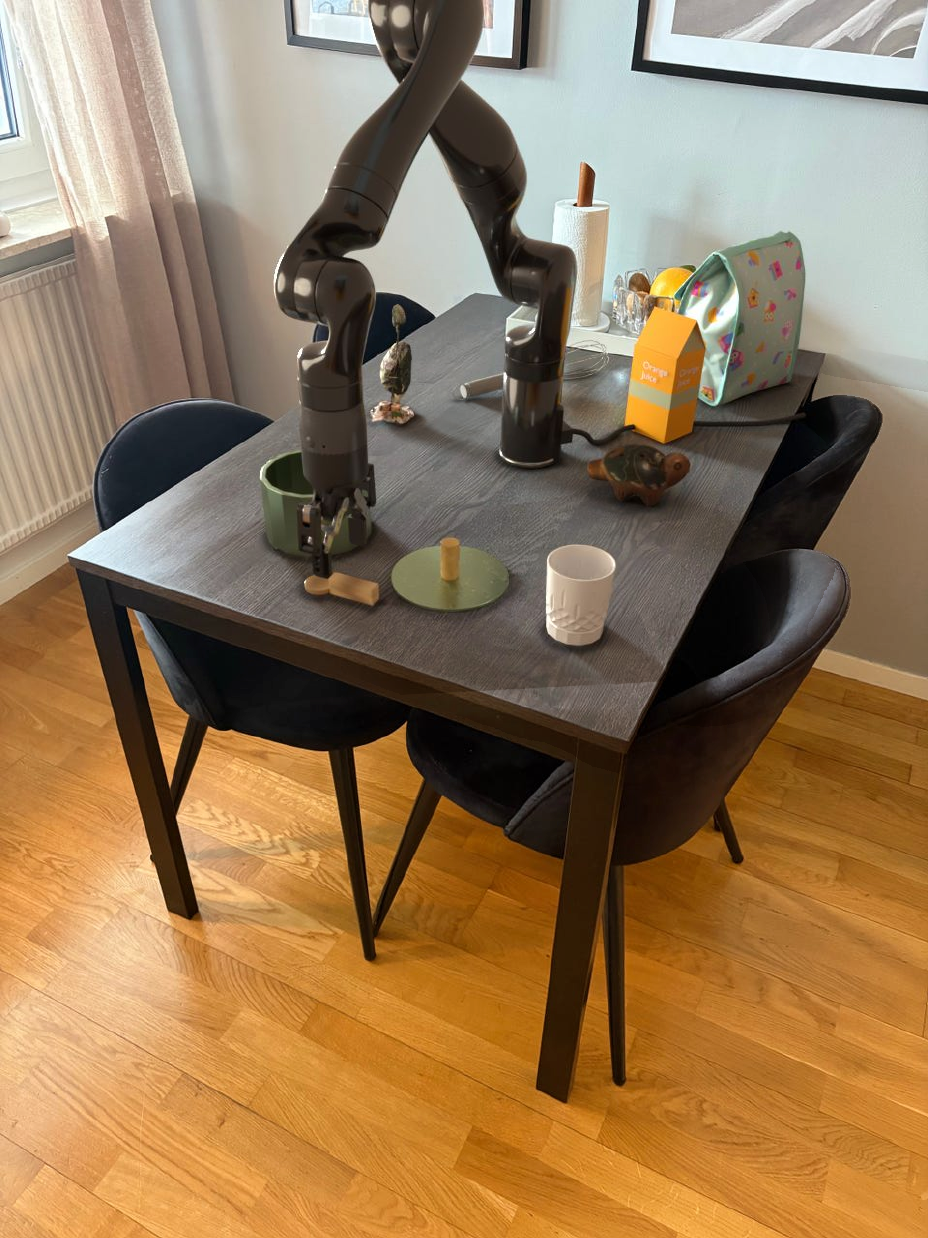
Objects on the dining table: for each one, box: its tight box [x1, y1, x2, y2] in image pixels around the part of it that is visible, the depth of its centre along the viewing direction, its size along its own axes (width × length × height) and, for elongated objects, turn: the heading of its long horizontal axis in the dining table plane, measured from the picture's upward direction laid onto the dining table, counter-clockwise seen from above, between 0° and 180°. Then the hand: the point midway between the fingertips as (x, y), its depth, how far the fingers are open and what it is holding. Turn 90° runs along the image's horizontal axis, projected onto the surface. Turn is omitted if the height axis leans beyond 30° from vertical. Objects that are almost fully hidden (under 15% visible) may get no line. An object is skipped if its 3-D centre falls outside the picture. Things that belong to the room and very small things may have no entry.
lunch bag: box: [673, 230, 806, 407], centre depth 173 cm, size 23×16×27 cm
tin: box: [259, 449, 372, 558], centre depth 131 cm, size 14×14×10 cm
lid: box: [390, 537, 510, 613], centre depth 122 cm, size 15×15×6 cm
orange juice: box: [624, 306, 706, 444], centre depth 158 cm, size 8×9×20 cm
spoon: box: [304, 571, 380, 606], centre depth 120 cm, size 10×4×3 cm, turn 66°
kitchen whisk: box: [452, 339, 610, 401], centre depth 178 cm, size 6×34×6 cm, turn 119°
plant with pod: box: [370, 304, 415, 426], centre depth 161 cm, size 8×11×20 cm
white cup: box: [545, 544, 617, 647], centre depth 113 cm, size 8×8×10 cm
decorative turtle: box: [586, 443, 691, 507], centre depth 142 cm, size 10×15×8 cm, turn 74°
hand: (341, 559), depth 118 cm, fingers open, 8 cm apart
